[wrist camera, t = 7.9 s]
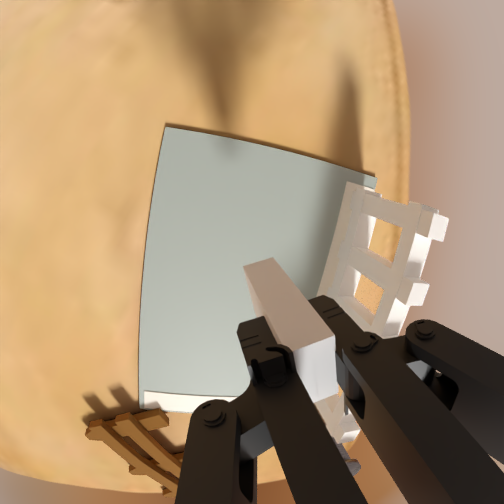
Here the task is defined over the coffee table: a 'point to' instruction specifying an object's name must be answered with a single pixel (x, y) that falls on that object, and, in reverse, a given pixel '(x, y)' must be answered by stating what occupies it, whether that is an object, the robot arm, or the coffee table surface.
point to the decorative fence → (137, 432)
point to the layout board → (228, 255)
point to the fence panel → (379, 279)
